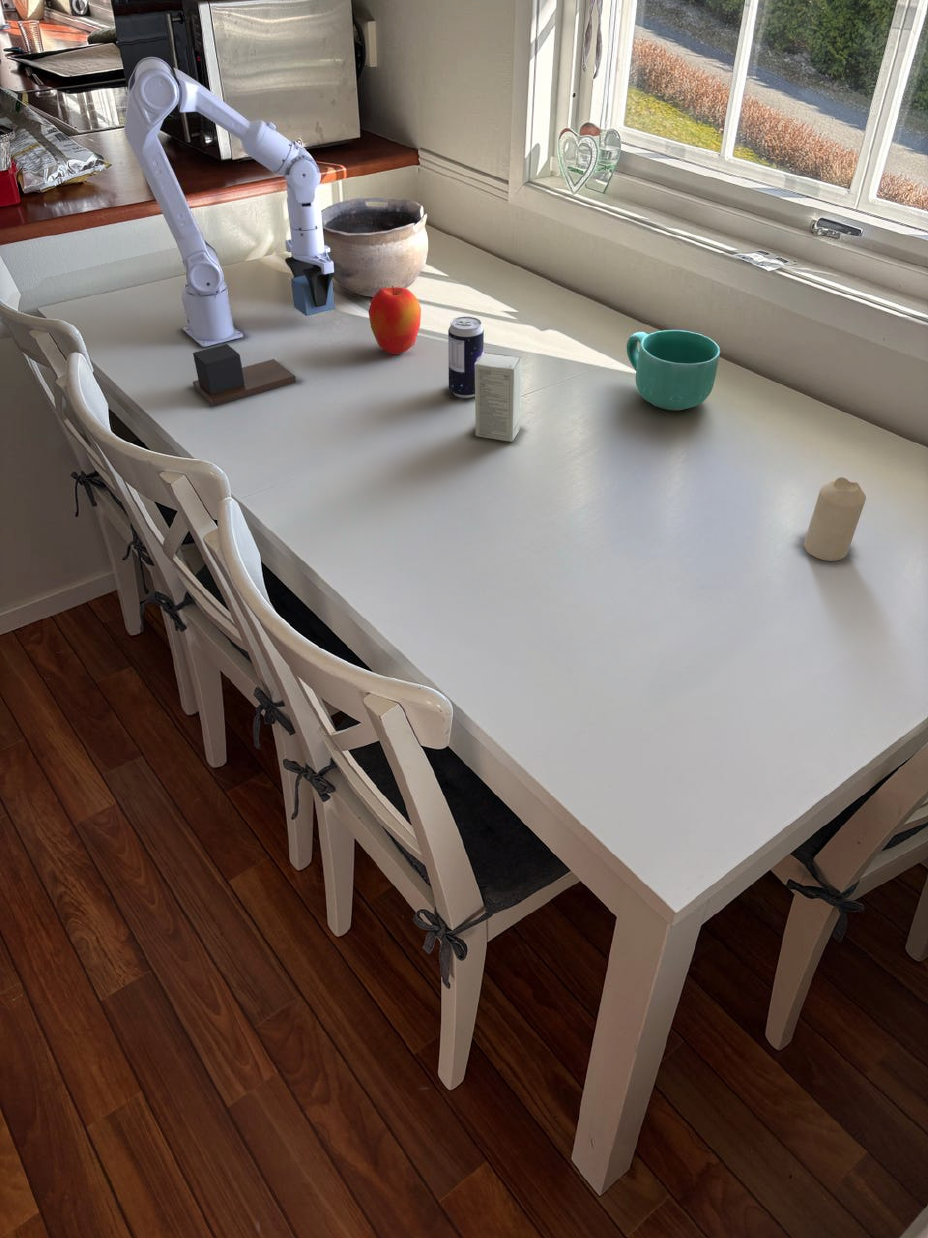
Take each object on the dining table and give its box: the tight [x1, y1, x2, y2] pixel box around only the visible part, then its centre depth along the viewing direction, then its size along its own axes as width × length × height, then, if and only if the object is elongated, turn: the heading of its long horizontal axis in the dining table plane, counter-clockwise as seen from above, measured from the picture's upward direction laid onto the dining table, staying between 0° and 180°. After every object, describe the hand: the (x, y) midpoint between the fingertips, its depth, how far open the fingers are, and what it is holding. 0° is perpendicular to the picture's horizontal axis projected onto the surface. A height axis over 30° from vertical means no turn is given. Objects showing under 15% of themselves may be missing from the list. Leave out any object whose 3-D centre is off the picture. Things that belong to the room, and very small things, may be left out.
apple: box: [368, 286, 422, 355], centre depth 162 cm, size 9×9×12 cm
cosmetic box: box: [474, 351, 522, 443], centre depth 140 cm, size 6×4×12 cm
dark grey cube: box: [192, 343, 245, 395], centre depth 151 cm, size 5×6×6 cm
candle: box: [803, 476, 867, 562], centre depth 118 cm, size 6×6×10 cm
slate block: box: [290, 275, 335, 317], centre depth 171 cm, size 6×5×6 cm
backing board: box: [192, 358, 297, 407], centre depth 155 cm, size 8×15×1 cm, turn 125°
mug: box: [625, 329, 721, 412], centre depth 150 cm, size 17×13×10 cm
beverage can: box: [447, 316, 485, 399], centre depth 150 cm, size 6×6×12 cm
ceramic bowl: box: [321, 197, 429, 298], centre depth 183 cm, size 22×22×15 cm
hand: (313, 300), depth 172 cm, fingers closed on slate block, 5 cm apart
